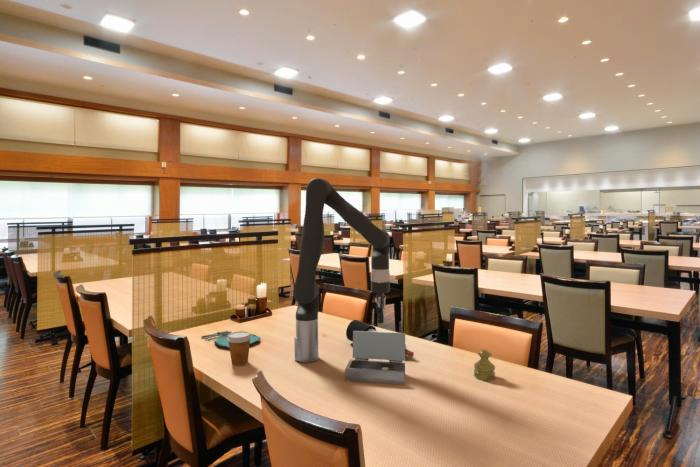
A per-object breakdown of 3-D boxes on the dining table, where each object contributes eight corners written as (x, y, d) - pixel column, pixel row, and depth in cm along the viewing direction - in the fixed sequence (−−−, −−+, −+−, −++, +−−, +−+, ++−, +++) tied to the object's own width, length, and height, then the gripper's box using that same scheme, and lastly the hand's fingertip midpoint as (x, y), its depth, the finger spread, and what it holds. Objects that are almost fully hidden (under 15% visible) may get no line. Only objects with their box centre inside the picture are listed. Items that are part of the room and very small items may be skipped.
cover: (353, 331, 154) (353, 330, 156) (352, 359, 153) (353, 358, 154) (405, 333, 150) (405, 333, 152) (405, 362, 149) (405, 361, 151)
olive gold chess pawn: (494, 374, 149) (495, 348, 149) (495, 382, 142) (495, 354, 142) (474, 371, 152) (474, 346, 151) (473, 379, 145) (473, 352, 144)
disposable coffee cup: (256, 360, 165) (256, 332, 164) (241, 369, 156) (240, 339, 155) (238, 357, 169) (237, 329, 168) (222, 365, 160) (221, 336, 159)
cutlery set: (230, 354, 174) (230, 349, 174) (196, 340, 194) (196, 335, 194) (267, 342, 189) (267, 338, 189) (233, 330, 209) (232, 326, 209)
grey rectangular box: (345, 380, 145) (345, 368, 144) (349, 370, 154) (349, 359, 154) (403, 384, 141) (403, 372, 141) (405, 374, 150) (405, 362, 150)
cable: (408, 371, 164) (403, 354, 159) (349, 344, 187) (343, 328, 182) (421, 355, 170) (416, 337, 165) (362, 331, 192) (357, 315, 188)
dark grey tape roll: (377, 380, 145) (377, 370, 145) (379, 374, 150) (379, 365, 150) (390, 381, 144) (390, 371, 143) (392, 376, 148) (392, 366, 148)
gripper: (373, 277, 165) (373, 318, 166) (368, 282, 152) (369, 327, 153) (391, 277, 164) (391, 318, 165) (388, 283, 151) (388, 328, 152)
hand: (380, 322), depth 159 cm, fingers closed
